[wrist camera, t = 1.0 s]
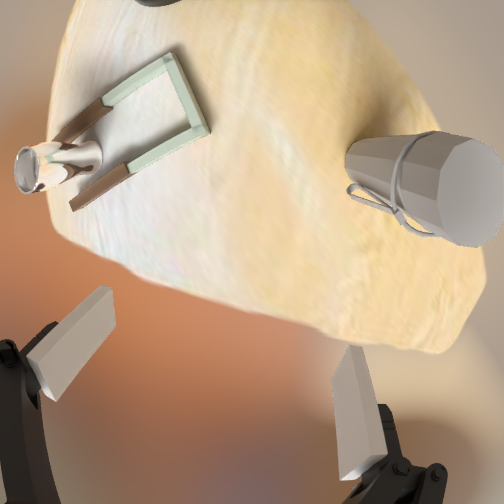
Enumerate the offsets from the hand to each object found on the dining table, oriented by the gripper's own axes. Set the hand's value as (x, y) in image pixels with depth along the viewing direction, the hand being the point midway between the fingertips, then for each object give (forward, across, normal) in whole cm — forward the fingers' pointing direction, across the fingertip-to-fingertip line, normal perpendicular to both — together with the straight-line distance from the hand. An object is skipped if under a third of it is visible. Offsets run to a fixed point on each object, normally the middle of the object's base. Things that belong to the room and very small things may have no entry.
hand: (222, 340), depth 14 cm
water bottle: (+28, +12, +10) cm, 32 cm away
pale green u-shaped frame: (+27, -19, +12) cm, 35 cm away
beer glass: (+28, -31, +4) cm, 42 cm away
